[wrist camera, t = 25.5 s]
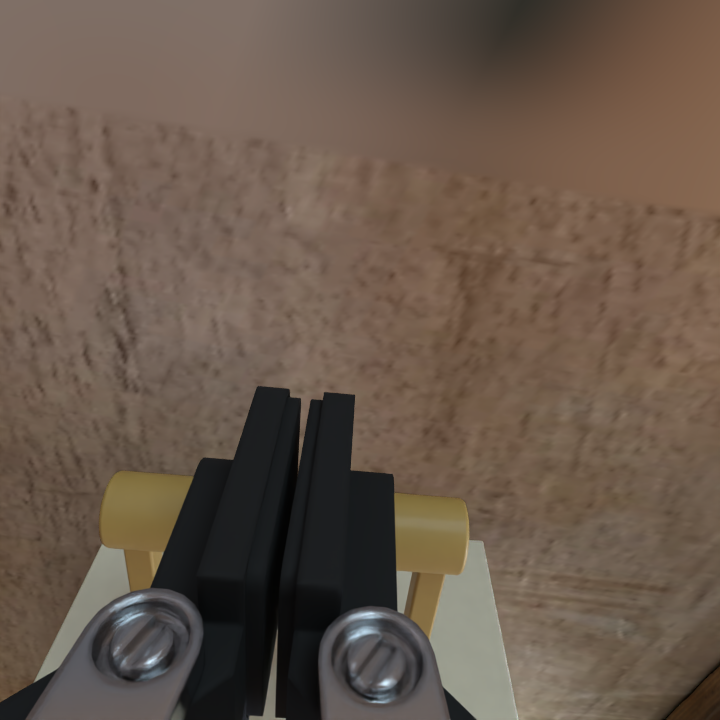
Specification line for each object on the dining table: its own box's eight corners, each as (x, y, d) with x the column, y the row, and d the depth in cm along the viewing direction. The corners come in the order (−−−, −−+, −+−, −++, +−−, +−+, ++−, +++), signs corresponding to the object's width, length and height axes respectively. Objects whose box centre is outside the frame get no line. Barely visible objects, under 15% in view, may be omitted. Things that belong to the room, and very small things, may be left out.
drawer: (90, 346, 16) (-86, 567, 10) (527, 385, 16) (619, 620, 10) (154, 740, 26) (87, 968, 20) (421, 758, 26) (436, 988, 20)
